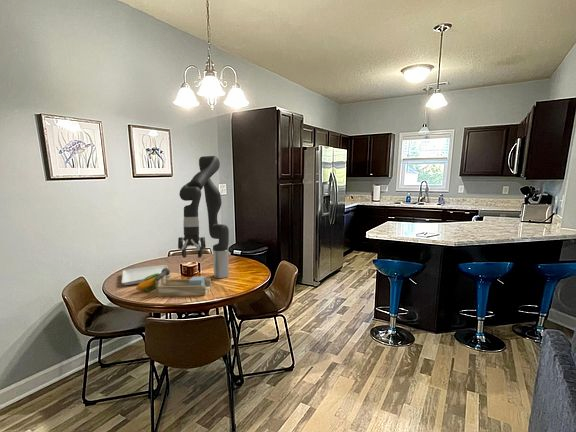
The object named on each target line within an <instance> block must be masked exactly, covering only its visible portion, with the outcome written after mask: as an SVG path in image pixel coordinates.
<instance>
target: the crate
mask: <svg viewBox="0 0 576 432" xmlns="http://www.w3.org/2000/svg"><path fill="white" fill-rule="evenodd" d="M189 279H190V280H189V286H198V285H205V281H204V279H206V277H205V276H203V275H201V276H192V277H191V278H189Z"/></svg>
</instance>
